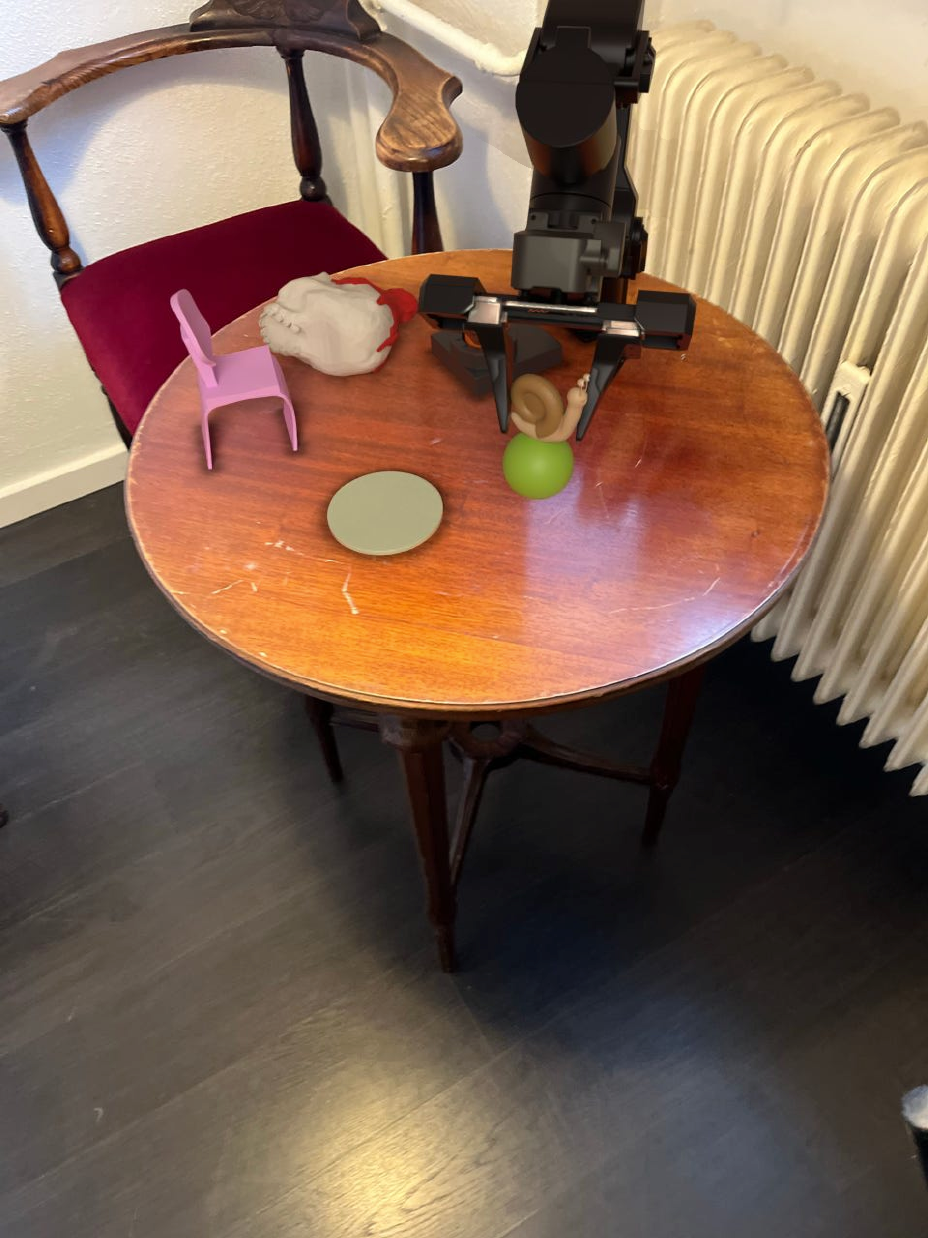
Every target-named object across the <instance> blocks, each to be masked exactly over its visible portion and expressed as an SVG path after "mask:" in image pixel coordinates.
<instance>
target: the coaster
mask: <svg viewBox="0 0 928 1238" xmlns="http://www.w3.org/2000/svg"><path fill="white" fill-rule="evenodd" d="M443 515H444V505H443V499H442V497H441V494H440V492H439V491H438V490H437V488H436V487H435V486H434V485H433V484H432V483H430V482H429V481H428V480H427V479H425V478H423V477H420V476H418V475H416V474H413V473H410V472H405V471H400V470H399V471H398V470H384V471H383V470H382V471H376V472H371V473H367V474H364V475H361V476H359V477H357V478H354V479H352V480H350V481H349V482H348V483H346V484H344V485H343V486H342V487H340V488H339V490H338V491H337V492H336V493H335V494H334V495H333V496H332V498H331V500H330V502H329V504H328V507H327V511H326V519H327V526H328V528H329V531H330V533H331V535H332V536H333V537H334V539H335V540H336V541H337V542H339V544H341V545H342V546H343V547H345V548H347V549H349V550H351V551H354V552H356V553H359V554H363V555H368V556H369V555H370V556H391V555H396V554H401V553H404V552H408V551H411V550H413V549H414V548H416V547H418V546H420V545H422V544H423V543H425V542H426V541H427V540H429V538H431V537H432V536H433V535H434V533H435V532H436V531H437V529H438V528H439V527H440V525H441V522H442V520H443Z"/></svg>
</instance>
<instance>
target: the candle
mask: <svg viewBox="0 0 928 1238" xmlns="http://www.w3.org/2000/svg"><path fill="white" fill-rule="evenodd" d="M277 294H278V296H277V299H276V301H274V302H270V303H269V304H266V305H265V306H264V308H263V311H262V313H260V315H259V320H258V326H259V327H260V328H261V329H260V330H259V335H260V336H261V337H262V342H263V344H266V345H268V347H269V350H271V351H272V352H273V354H280V355H282V356H284V357H294V358H296V359H297V360H299V361H300V362H302V363H304V364H306V365H310V366H311V367H312V368H313V369H314V370H316V371H318V372H320V373H323V374H325V375H328V376H333V377H348V376H356V375H362V374H368V373H370V374H374V373H376V372H378V371H380V370H381V369H382V367H383V366H384V365H385V364H386V363H387V361H388V358H389V354H390V352H391V349H392V347H393V345H395V344H396V343H397V341H398V338H399V336H400V333H399V330H400V329H399V328H400V325H401V324H403V323H406V322H408V321H410V319H413V318H414V317H415V316H416V315H417V314H418V313H417V309H418V301H417V299H416V297H415V295H414V294H412V293H411V292H410V291H408V290H406V289H405V288H404V287H394V288H388V289H383V288H381V287H380V286H378V285H376V284H375V283H373V282H371V281H370V280H369V279H367V278H366V277H361V276H360V277H358V276H357V277H356V276H355V277H352V276H346V277H342V278H340V279H335V278H333V277H332V275H329V274H328V273H327V272H326V271H322V272H320V273H319V274H316V275H311V276H304V277H299V278H295V279H291V280H290V281H289V282H288V283H286V284H285V285H283V286H282V288H280V289H279V291H278V293H277Z"/></svg>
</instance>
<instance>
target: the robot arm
mask: <svg viewBox="0 0 928 1238" xmlns="http://www.w3.org/2000/svg"><path fill="white" fill-rule="evenodd" d="M645 7H646V0H547V5H546V8H545V12H544V16H543V19H542V24H541V26H535V27H534V29H533V31H532V34H531V38H530V41H529V44H528V47H527V50H526V53H525V57H524V60H523V63H522V66H521V69H520V72H519V76H518V82H517V84H516V88H515V94H514V100H515V101H514V102H515V103H514V104H515V111H516V114H517V118H518V122H519V126H520V130H521V132H522V136H523V140H524V143H525V146H526V150H527V154H528V157H529V161H530V163H531V165H532V166H533V169H532V175H531V176H532V177H531V186H530V194H529V201H528V209H527V216H526V217H527V218H526V225H525V228H524V230H523V229H522V230H519V231H517V232H514V233H513V241H512V242H513V243H512V257H511V273H510V288H512V289H513V290H515V291H517V292H518V293H517V294H508V293H507V294H506V293H497V292H494V293H493V292H487V290H486V288H485V287H484V285H483V284H482V281H481V280H480V279H479V277H478V276H464V275H451V274H439V273H430V274H429V275H428V276H427V277H426V278H425V279H424V280H423V281H422V283H421V285H420V287H419V291H418V299H417V300H418V301H417V303H418V309H417V314H418V315H419V316H420V317H421V318H422V319H423V321H425V322H426V324H428V325H429V326H430V327H431V328H432V329H434V330H438V331H453V332H464V333H465V334H466V335H467V336H468V337H469V339H470V340H471V341H472V342H473V343H474V344H475V345H479V346H481V348H482V351H483V353H484V357H485V360H486V363H487V366H488V369H489V373H490V377H491V383H492V388H493V391H492V393H493V398H494V404H495V409H496V415H497V420H498V427H499V431H500V433H501V434H502V435H505V436H506V435H508V434H509V430H510V423H511V420H512V418H511V412H512V407H513V405H512V402H511V397H510V391H511V387H512V384H513V383H512V382H513V357H514V341H513V340H512V338H511V337H510V335H509V334H508V332H507V328H510V324H511V323H519V324H531V325H539V326H543V327H557V328H565V329H566V331H568V332H570V333H571V334H572V335H573V336H574V337H576V338H577V339H578V340H579V341H581V342H582V343H584V344H589V343H591V342H594V341H596V343H595V348H594V353H593V359H592V363H591V367H590V371H589V374H590V376H591V378H590V380H589V381H588V382H587V389H586V393H587V402H586V404H585V405H584V406H583V409H582V414H581V417H580V419H579V422H578V424H577V427H576V432H575V442H576V443H582V442H583V441H584V438H585V437H586V434H587V432H588V430H589V428H590V426H591V425H592V422H593V421H594V420H593V419H594V418H595V415H596V413H597V412H598V409H599V407H600V405H601V403H602V400H603V398H605V397H604V396H605V395H606V392H607V391H608V389H609V387H610V385H612V383H613V381H614V379H616V376H617V375H618V373H619V372H620V371H621V369H622V367H623V366H624V364H625V362H626V361H628V360H640V359H641V358H642V351H643V350H642V349H649V350H660V351H673V352H684V351H686V352H687V351H689V347H690V344H691V341H692V339H693V334H694V329H695V328H694V327H695V320H696V315H697V314H696V313H697V306H698V305H697V302H696V301H695V299H694V297H693V296H692V294H691V293H690V292H689V293H688V292H676V291H675V292H673V291H663V290H648V289H638V291H637V297H636V303H635V304H633V303H627V297H628V289H629V281H636V279H637V275H639V274H640V273H643V272H645V271H646V263H647V255H648V247H649V246H648V243H649V233H648V231H647V230H646V228H645V224H644V216H638V208H639V201H640V199H639V198H640V196H639V193H638V190H637V188H636V185H635V183H634V180H633V177H632V175H631V172H630V170H629V168H628V166H627V161H628V153H629V145H630V138H631V137H630V135H631V126H632V120H633V119H632V118H633V110H634V105H638V104H639V102H640V99H641V97H642V94H649V92H650V90H651V85H652V80H653V78H654V77H653V76H654V73H655V66H656V58H657V50H656V49H655V47H654V46H653V45H652V43H653V37H652V36H651V35H650V34H651V33H650V29H649V30H648V29H643V24H644V23H643V22H644V14H645Z"/></svg>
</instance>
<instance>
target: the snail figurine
mask: <svg viewBox="0 0 928 1238" xmlns="http://www.w3.org/2000/svg"><path fill="white" fill-rule="evenodd" d="M590 378H591V376H590V373H587V372H586V373H584V374H583V376H582V378H578V379H577V382H576V383H577V386H573V387H571V388H570V389H569V390H568V392H567V393H566V394H567V395H566V399H567V405H566V408H565V402H564V399H563V397H562V395H561V394H560V393H561V392H560V391H559V390H558V389H557V388H556V386H555V385H554V384H553V383H552V382H551V381H550V380H548V379H547V378H545V377H544V376H541V375H538V374H524V375H522V376H520V377H518V378H517V379H516V380H515V381H514V383H512V387H511V391H510V397H511V402H512V407H513V410H515V411H511V420H512V422H513V424H514V425H515V426H516V428H517V429H518V430H519V431H520V432H518V433H517V434H515V435H514V436H513V437H512V438H511V439H510V441H509V442H508V443H507V445H506V447H505V449H504V451H503V454H502V459H501V460H502V461H501V467H502V474H503V476H504V479H505V481H506V483H507V484H508V486H509V487H510V489H512V490H513V491H514V492H515V494H517V495H519V496H520V497H523V498H525V499H528V500H534V501H541V500H548V499H551V498H553V497H555V496H557V495H558V494H560V493H561V492H562V491H563V490H564V489H565V488H566V487H567V485H568V484H569V483H570V481H571V479H572V478H573V474H574V470H575V457H574V453H573V449H572V447H571V444H570V443H569V442H568V439H569V438H570V437H571V436H572V435H573V433H574V432H575V430H577V424H578V422H579V419H580V417H581V414H582V409H583V406H584V405H585V404H586V402H587V393H586V389H587V382H588V381H589V380H590ZM583 387H585V389H584V388H583Z"/></svg>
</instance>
